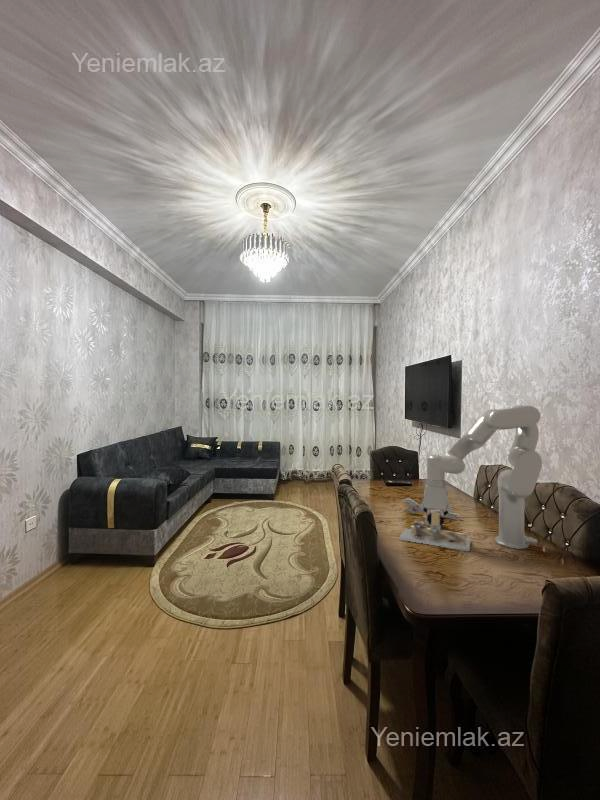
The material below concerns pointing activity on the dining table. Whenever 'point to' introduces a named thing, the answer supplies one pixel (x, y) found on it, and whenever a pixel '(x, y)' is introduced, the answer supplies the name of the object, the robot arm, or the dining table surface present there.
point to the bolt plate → (435, 540)
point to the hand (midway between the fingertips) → (435, 523)
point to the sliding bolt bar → (421, 529)
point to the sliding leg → (435, 523)
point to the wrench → (415, 508)
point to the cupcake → (431, 517)
